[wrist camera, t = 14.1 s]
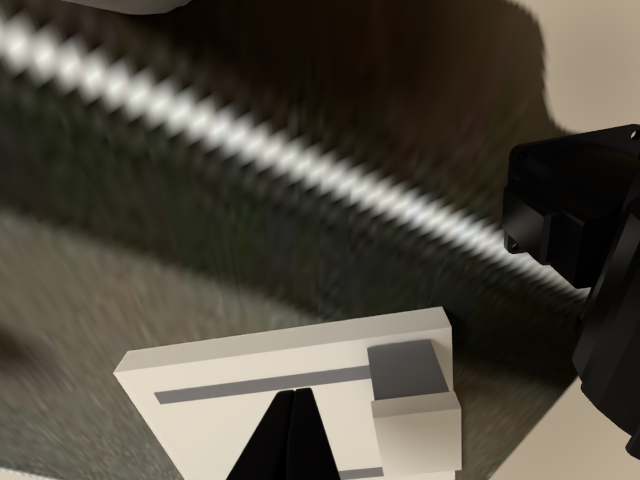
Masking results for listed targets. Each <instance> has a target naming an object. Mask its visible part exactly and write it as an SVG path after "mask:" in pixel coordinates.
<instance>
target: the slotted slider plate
mask: <svg viewBox="0 0 640 480" xmlns="http://www.w3.org/2000/svg"><path fill="white" fill-rule="evenodd" d="M429 339H430V341H431V343H432V346H433V349H434V351H435V354H436V357H437V359H438V362H439V365H440V367H441V370H442V373H443V375H444V378H445V381H446V383H447V386H448V389H449V391H450V392H452V391H453V366H452V327H451V324H450V322H449V320H448V318H447V316H446V314H445V312H444V310H443V308H442V307H435V308H428V309H421V310H414V311H407V312H400V313H393V314H386V315H379V316H372V317H365V318H358V319H351V320H344V321H336V322H329V323H322V324H315V325H308V326H301V327H294V328H287V329H280V330H273V331H266V332H259V333H252V334H245V335H238V336H231V337H223V338H216V339H209V340H202V341H195V342H188V343H181V344H174V345H167V346H160V347H153V348H146V349H139V350H132V351H128V352H127V353H126V354H125V356H124V357H123V359H122V360H121V362H120V363H119V365H118V366H117V368H116V369H115V371H114V372H113V373H114V375H115V376H116V378H117V379H118V381H119V382H120V384H121V385H122V387H123V388H124V390H125V391H126V393H127V394H128V396H129V397H130V399H131V400H132V402H133V403H134V405H135V406H136V408H137V409H138V411H139V412H140V413H141V415H142V416H143V418H144V419H145V421H146V422H147V424H148V425H149V427H150V428H151V430H152V431H153V433H154V434H155V436H156V437H157V439H158V440H159V442H160V443H161V445H162V446H163V448H164V449H165V451H166V452H167V454H168V455H169V457H170V458H171V460H172V461H173V463H174V464H175V466H176V467H177V469H178V470H179V472H180V473H181V475H182V476H183V478H184V479H185V480H226V478H227V476H228V475H229V473H230V471H231V470H232V468H233V466H234V465H235V463H236V461H237V460H238V458H239V456H240V454H241V453H242V451H243V449H244V448H245V446H246V444H247V443H248V441H249V439H250V437H251V436H252V434H253V432H254V431H255V429H256V427H257V426H258V424H259V422H260V421H261V419H262V417H263V415H264V414H265V412H266V410H267V409H268V407H269V405H270V404H271V402H272V400H273V399H274V397H275V395H276V394H277V393H278V392H279V391H283V390H291V389H292V390H296V389H299V388H307V387H310V388H312V391H313V394H314V397H315V400H316V403H317V406H318V409H319V412H320V415H321V419H322V422H323V425H324V428H325V431H326V434H327V437H328V440H329V444H330V447H331V450H332V453H333V456H334V459H335V462H336V465H337V469H338V472H339V475H340V478H341V480H455V470H454V471H443V472H433V473H422V474H412V475H401V476H391V477H384V474H383V468H382V463H381V458H380V453H379V447H378V442H377V437H376V432H375V426H374V421H373V415H372V407H371V401H374V394H373V387H372V380H371V373H370V366H369V360H368V353H367V348H369V347H376V346H384V345H391V344H399V343H406V342H414V341H421V340H429Z"/></svg>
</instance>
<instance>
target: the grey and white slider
mask: <svg viewBox="0 0 640 480" xmlns="http://www.w3.org/2000/svg"><path fill="white" fill-rule="evenodd" d="M367 353H368V360H369V366H370V373H371V380H372V387H373V394H374V401H371V407H372V415H373V421H374V426H375V432H376V437H377V442H378V447H379V453H380V458H381V463H382V468H383V474H384V477H391V476H401V475H412V474H422V473H433V472H443V471H454V470H462V465H461V407H460V404H459V402H458V399H457V396H456V394H455V391H452V392H450V391H449V389H448V386H447V383H446V381H445V378H444V375H443V373H442V370H441V367H440V365H439V362H438V359H437V357H436V354H435V351H434V349H433V346H432V343H431V341H430V339H429V340H421V341H414V342H406V343H399V344H391V345H384V346H376V347H369V348H367Z"/></svg>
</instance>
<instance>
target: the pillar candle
mask: <svg viewBox="0 0 640 480" xmlns="http://www.w3.org/2000/svg"><path fill="white" fill-rule="evenodd" d="M62 1H68V2H73V3H79V4H83V5H87V6H91V7H96V8H101V9H107V10H112V11H116V12H120V13H125V14H137V15H143V14H157V13H167V12H169V11H171V10H173V9H175V8H177V7H179V6H184V5H186V4H187V3H189V2H190V1H192V0H62Z"/></svg>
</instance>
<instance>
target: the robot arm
mask: <svg viewBox="0 0 640 480" xmlns="http://www.w3.org/2000/svg"><path fill="white" fill-rule="evenodd" d="M635 131H636V133H635V135H634V136H633V137H632V138H631V135H632V133H634V132H635ZM522 151H524V155H523V157H522V158H520V159H518V155H519V153H520V152H522ZM502 229H503V230H505V236H504V248H505V249H506V250H507V251H508V252H509V253H511V254H518V253H525V252H528V253H529V254H530V255H531V256H532V257H533V258H534V259H535V260H536V261H537V262H538V263H540V264H541V265H543V266H544V265H550V266H551V267H552V268H554V269H555V270H556V271H557V272H558V273H559V274H560V275H561V276H562V277H563V278H564V279H566V280H567V281H568V282H569V283H570V284H571V285H572V286H573V287H575V288H576V289H581V288H588V287H591V289H590V292H589V295H588V297H587V300H586V302H585V305H584V307H583V310H582V313H581V315H580V316H579V317H577V318H576V321H575V323H574V326H573V328H574V330H575V333H576V338H575V340H574V343H573V348H572V361H573V364H574V366H575V368H576V371H577V373H578V375H579V378H580V379H581V381H582V384H581V390H582V392H583V393H584V394H585V396H586V397H587V398H588V399H589V400H590V401H591V402H592V403H593V405H594V406H595V407H596V408H597V409H598V410H599V411H600V412H602V413H603V414H604V415H605V416H606V417H607V418H609V419H610V420H611V421H612V422H613V423H614V424H616V425H617V426H618V427H619V428H621V429H622V430H623V431H625V432H626V433H628V434H629V435H631V436H632V437H631V438H630V440H629V442H628V443H627V445H626V447H625V448H626V451H627V452H628V453H629V454H630V455H631V456H633V457H635V458H637V459H639V460H640V125H639V124H630V125H625V126H619V127H614V128H608V129H602V130H597V131H591V132H586V133H580V134H575V135H570V136H564V137H559V138H553V139H548V140H542V141H537V142H531V143H526V144H521V145H518V146H515V147H514V148H513V149H512V151H511V152H510V156H509V172H508V185H507V186H506V187H505V189H504V196H503V214H502ZM515 243H517V244H516V246H514V247H512V245H513V244H515ZM226 480H341V478H340V475H339V472H338V469H337V465H336V462H335V459H334V456H333V453H332V450H331V447H330V444H329V440H328V437H327V434H326V431H325V428H324V425H323V422H322V419H321V415H320V412H319V409H318V406H317V403H316V400H315V397H314V394H313V391H312V388H310V387H307V388H299V389H296V390H292V389H291V390H283V391H279V392H278V393H277V394H276V395H275V397H274V399H273V400H272V402H271V404H270V405H269V407H268V409H267V410H266V412H265V414H264V415H263V417H262V419H261V421H260V422H259V424H258V426H257V427H256V429H255V431H254V432H253V434H252V436H251V437H250V439H249V441H248V443H247V444H246V446H245V448H244V449H243V451H242V453H241V454H240V456H239V458H238V460H237V461H236V463H235V465H234V466H233V468H232V470H231V471H230V473H229V475H228V476H227V478H226Z"/></svg>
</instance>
